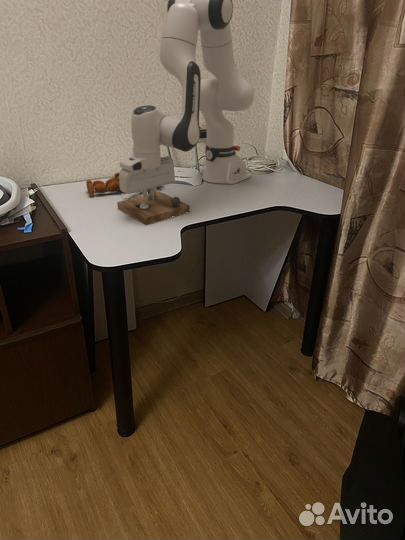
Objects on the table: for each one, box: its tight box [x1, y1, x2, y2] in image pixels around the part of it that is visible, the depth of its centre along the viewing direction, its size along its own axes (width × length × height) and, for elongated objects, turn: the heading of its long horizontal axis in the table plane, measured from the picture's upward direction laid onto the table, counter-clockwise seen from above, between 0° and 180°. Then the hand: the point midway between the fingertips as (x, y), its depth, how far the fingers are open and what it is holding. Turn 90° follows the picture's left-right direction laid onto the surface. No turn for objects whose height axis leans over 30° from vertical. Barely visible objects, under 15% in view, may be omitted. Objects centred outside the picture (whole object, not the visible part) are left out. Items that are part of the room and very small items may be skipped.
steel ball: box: [139, 203, 149, 210], centre depth 136 cm, size 4×4×4 cm
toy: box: [85, 172, 132, 199], centre depth 155 cm, size 20×7×30 cm
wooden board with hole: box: [116, 191, 190, 226], centre depth 138 cm, size 18×18×2 cm
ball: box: [171, 196, 182, 206], centre depth 135 cm, size 3×3×3 cm
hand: (149, 200), depth 136 cm, fingers closed
